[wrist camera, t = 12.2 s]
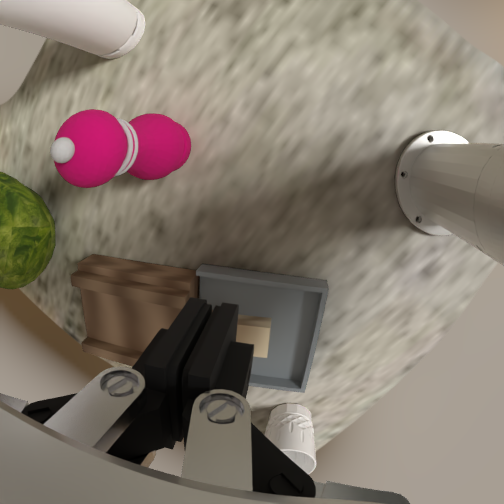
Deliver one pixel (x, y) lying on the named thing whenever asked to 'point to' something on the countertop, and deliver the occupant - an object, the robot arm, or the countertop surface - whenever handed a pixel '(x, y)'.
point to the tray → (273, 318)
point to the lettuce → (23, 234)
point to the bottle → (79, 23)
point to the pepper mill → (118, 147)
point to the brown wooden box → (129, 303)
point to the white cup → (293, 434)
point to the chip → (254, 333)
